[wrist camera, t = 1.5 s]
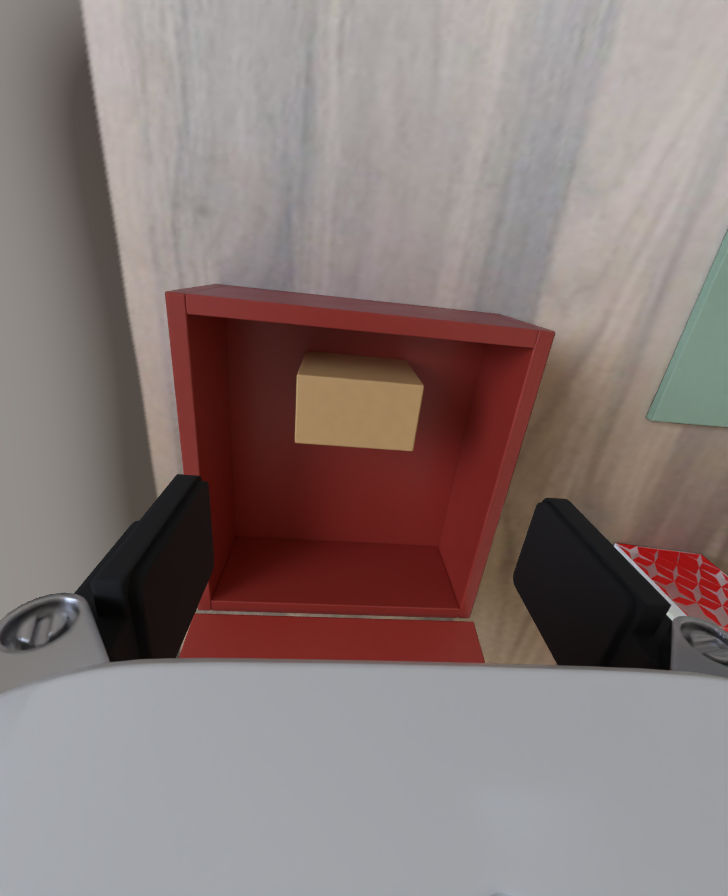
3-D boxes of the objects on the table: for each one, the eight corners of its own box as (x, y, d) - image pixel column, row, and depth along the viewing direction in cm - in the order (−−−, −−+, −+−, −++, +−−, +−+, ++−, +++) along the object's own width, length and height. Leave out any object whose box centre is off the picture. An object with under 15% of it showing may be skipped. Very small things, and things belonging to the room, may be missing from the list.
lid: (-121, 1516, 7) (-6, 1373, 10) (689, 1381, 9) (591, 1289, 12) (194, 612, 22) (204, 657, 25) (473, 621, 24) (454, 662, 27)
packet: (306, 350, 23) (296, 374, 18) (407, 359, 23) (424, 385, 18) (303, 406, 24) (294, 443, 19) (398, 414, 25) (413, 452, 20)
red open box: (214, 283, 22) (164, 291, 16) (499, 314, 23) (556, 331, 17) (227, 537, 29) (197, 610, 23) (444, 547, 31) (469, 618, 25)
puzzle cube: (615, 542, 31) (695, 625, 24) (700, 553, 32) (802, 635, 25) (574, 614, 35) (635, 705, 28) (653, 621, 36) (731, 711, 29)
